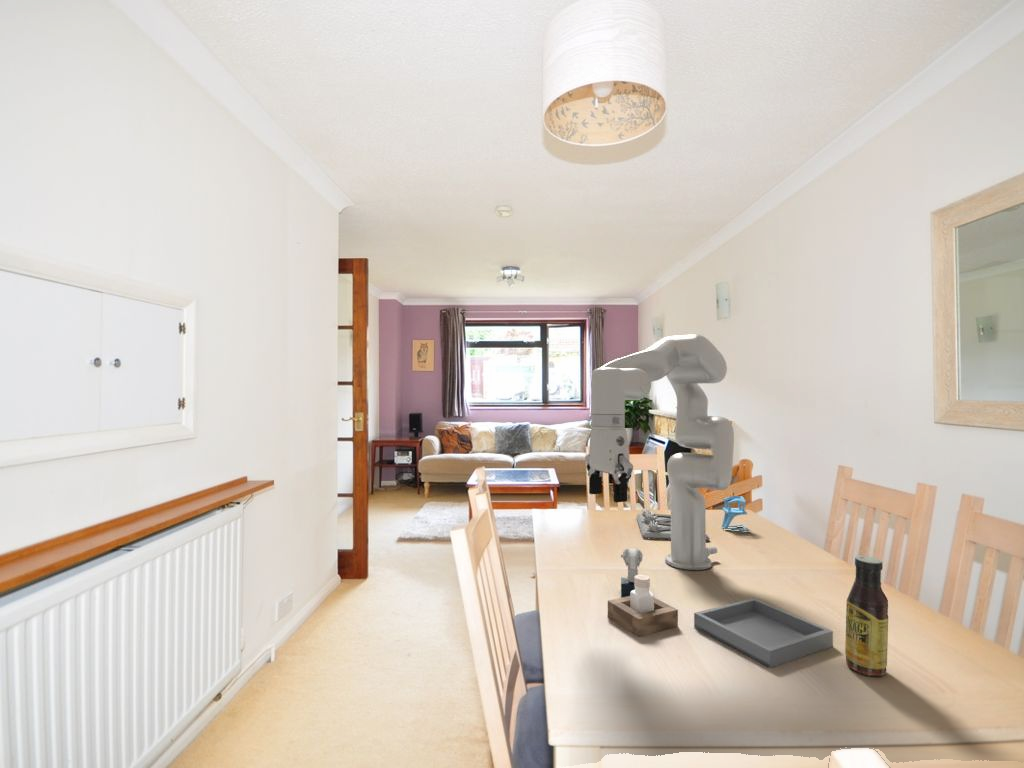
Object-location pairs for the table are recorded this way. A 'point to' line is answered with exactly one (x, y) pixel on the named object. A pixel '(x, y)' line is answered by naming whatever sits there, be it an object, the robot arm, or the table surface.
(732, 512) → the chair
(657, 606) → the shaker holder
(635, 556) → the watch
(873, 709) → the table surface
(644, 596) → the salt shaker
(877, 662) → the sauce bottle
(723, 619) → the tray
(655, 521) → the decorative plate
